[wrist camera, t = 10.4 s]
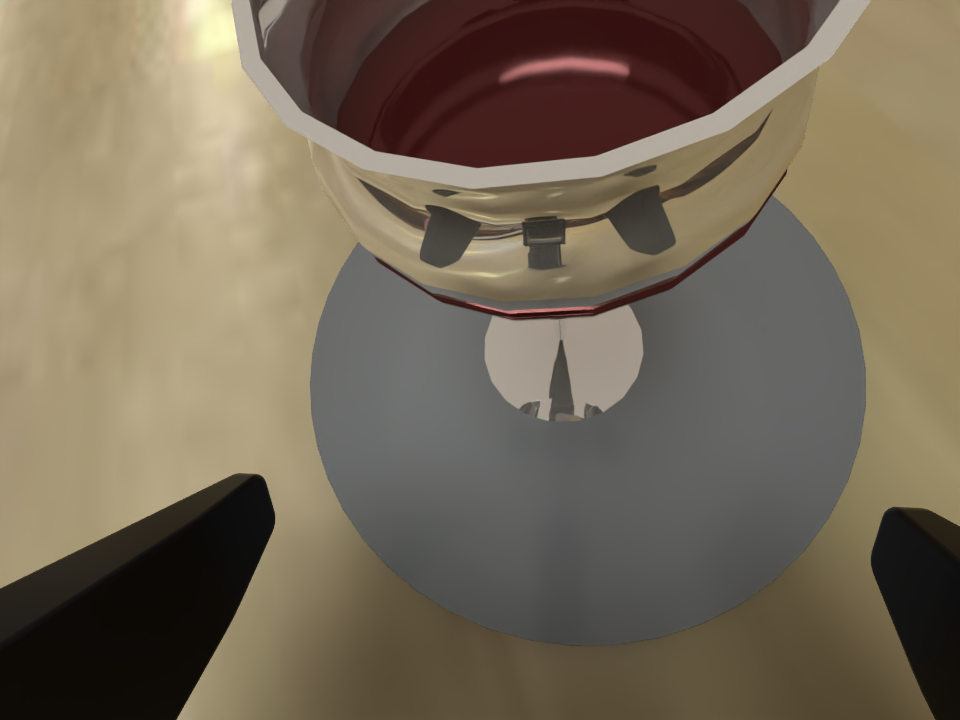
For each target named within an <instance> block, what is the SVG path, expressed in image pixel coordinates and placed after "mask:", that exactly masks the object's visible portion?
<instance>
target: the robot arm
mask: <svg viewBox="0 0 960 720" xmlns="http://www.w3.org/2000/svg"><path fill="white" fill-rule="evenodd" d="M274 525H275V512H274V508H273V505H272V501H271V498H270V495H269V491H268V488H267V484H266V481H265V479H264V478H263V477H262V476H261V475H258V474H246V473H238V474H234V475H232V476H230V477H228V478H225V479H223V480H221V481H219V482H217V483H215V484H213V485H211V486H209V487H207V488H205V489H203V490H201V491H199V492H197V493H195V494H193V495H191V496H189V497H187V498H185V499H183V500H180V501H178V502H176V503H174V504H172V505H170V506H168V507H166V508H164V509H162V510H160V511H158V512H156V513H154V514H152V515H150V516H148V517H146V518H144V519H142V520H140V521H138V522H135V523H133V524H131V525H129V526H127V527H125V528H123V529H121V530H119V531H117V532H115V533H113V534H111V535H109V536H107V537H105V538H103V539H101V540H99V541H97V542H95V543H93V544H90V545H88V546H86V547H84V548H82V549H80V550H78V551H76V552H74V553H72V554H70V555H68V556H66V557H64V558H62V559H60V560H58V561H56V562H54V563H52V564H50V565H48V566H45V567H43V568H41V569H39V570H37V571H35V572H33V573H31V574H29V575H27V576H25V577H23V578H21V579H19V580H17V581H15V582H13V583H11V584H9V585H7V586H5V587H3V588H0V720H177V718H178V716H179V714H180V713H181V711H182V709H183V707H184V705H185V704H186V702H187V700H188V698H189V697H190V695H191V693H192V691H193V689H194V688H195V686H196V684H197V682H198V681H199V679H200V677H201V675H202V674H203V672H204V670H205V668H206V666H207V665H208V663H209V661H210V659H211V658H212V656H213V654H214V652H215V650H216V649H217V647H218V645H219V643H220V642H221V640H222V638H223V636H224V634H225V633H226V631H227V629H228V627H229V625H230V623H231V621H232V620H233V618H234V616H235V613H236V611H237V609H238V607H239V605H240V603H241V601H242V599H243V596H244V594H245V592H246V590H247V588H248V585H249V583H250V581H251V579H252V576H253V574H254V572H255V570H256V567H257V565H258V563H259V561H260V558H261V556H262V554H263V552H264V549H265V547H266V545H267V543H268V541H269V538H270V536H271V534H272V532H273V529H274ZM871 566H872V571H873V574H874V576H875V579H876V581H877V584H878V586H879V589H880V591H881V594H882V596H883V599H884V601H885V604H886V606H887V609H888V611H889V614H890V616H891V619H892V621H893V624H894V626H895V629H896V631H897V634H898V636H899V639H900V641H901V644H902V646H903V649H904V651H905V654H906V656H907V658H908V661H909V663H910V666H911V668H912V671H913V673H914V675H915V678H916V680H917V682H918V685H919V687H920V689H921V691H922V694H923V696H924V698H925V700H926V702H927V704H928V706H929V708H930V710H931V712H932V714H933V716H934V717H935V719H936V720H960V526H958V525H956V524H954V523H952V522H950V521H949V520H947V519H945V518H943V517H941V516H939V515H938V514H936V513H934V512H932V511H930V510H927V509H923V508H906V507H892V508H889V509H888V510H887V511H886V512H885V513H884V515H883V518H882V521H881V524H880V527H879V530H878V534H877V537H876V540H875V543H874V546H873V550H872V554H871Z"/></svg>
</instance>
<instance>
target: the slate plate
mask: <svg viewBox="0 0 960 720" xmlns="http://www.w3.org/2000/svg"><path fill="white" fill-rule="evenodd" d="M628 306H629V307H630V308H631V309H632V311H633V313H634V315H635V317H636V320H637V322H638V324H639V326H640V328H641V332H642V343H643V353H644V354H643V357H642V361H641V365H640V369H639V372H638V376H637V378H636V380H635V381H634V382H633V384H632V385H631V387H630V388H629V390H628V391H627V393H626V394H625V396H624V397H623V398H622V399H620V400H619V401H618V402H616V403H615V404H614V405H612V406H611V407H610V408H608V409H607V410H606V411H604V412H603V413H601V414H598V415H595V416H592V417H589V418H586V419H583V420H580V421H567V422H550V421H547V420H543V419H540V418H537V417H533V416H530V415H526V414H525V413H524V412H522V411H521V410H519V409H518V408H516V407H515V406H513V405H512V404H510V403H509V402H507V401H506V400H505V399H504V397H503V396H502V395H501V393H500V392H499V391H498V389H497V388H496V387H495V385H494V384H493V383H492V381H491V378H490V375H489V372H488V369H487V366H486V363H485V336H486V333H487V330H488V328H489V325H490V322H491V319H492V316H489V315H485V314H481V313H476V312H472V311H468V310H464V309H460V308H457V307H453V306H450V305H446V304H443V303H441V302H439V301H438V300H436V299H435V298H433V297H431V296H430V295H428V294H427V293H425V292H424V291H422V290H420V289H419V288H417V287H416V286H414V285H413V284H411V283H409V282H408V281H406V280H405V279H403V278H402V277H400V276H398V275H397V274H395V273H394V272H392V271H391V270H389V269H388V268H386V267H384V266H383V265H381V264H380V263H378V262H377V260H376V259H375V257H374V256H373V255H372V254H371V253H370V252H369V251H368V250H367V249H365V248H364V247H363V246H362V245H361V244H360V242H358V243H357V245H356V246H355V248H354V249H353V251H352V253H351V254H350V256H349V257H348V259H347V260H346V262H345V263H344V265H343V267H342V268H341V270H340V272H339V274H338V276H337V278H336V280H335V283H334V285H333V287H332V289H331V291H330V293H329V295H328V298H327V301H326V304H325V307H324V309H323V312H322V315H321V318H320V321H319V324H318V329H317V334H316V339H315V344H314V348H313V353H312V366H311V378H310V392H311V412H312V420H313V425H314V430H315V436H316V441H317V447H318V450H319V453H320V456H321V459H322V462H323V465H324V468H325V471H326V474H327V477H328V480H329V482H330V484H331V486H332V488H333V490H334V492H335V494H336V496H337V498H338V500H339V502H340V504H341V506H342V508H343V510H344V512H345V513H346V515H347V516H348V518H349V519H350V520H351V522H352V523H353V525H354V526H355V528H356V529H357V531H358V532H359V534H360V535H361V537H362V538H363V540H364V541H365V542H366V543H367V544H368V545H369V546H370V547H371V548H372V550H373V551H374V552H375V553H376V554H377V555H378V556H379V557H380V558H381V560H382V561H383V562H384V563H385V564H386V565H387V566H388V567H389V568H390V569H391V570H392V571H394V572H395V573H396V574H397V575H398V576H400V577H401V578H402V579H403V580H404V581H406V582H407V583H408V584H409V585H410V586H412V587H413V588H414V589H415V590H416V591H418V592H419V593H421V594H422V595H424V596H426V597H427V598H429V599H430V600H432V601H434V602H435V603H437V604H439V605H440V606H442V607H443V608H445V609H447V610H448V611H450V612H452V613H454V614H456V615H458V616H461V617H463V618H465V619H467V620H470V621H472V622H474V623H476V624H479V625H481V626H483V627H486V628H488V629H491V630H495V631H498V632H502V633H505V634H509V635H513V636H516V637H520V638H523V639H527V640H532V641H540V642H547V643H555V644H563V645H570V646H581V645H618V644H624V643H630V642H637V641H643V640H649V639H655V638H660V637H663V636H666V635H669V634H672V633H675V632H678V631H682V630H685V629H688V628H691V627H694V626H697V625H700V624H702V623H704V622H706V621H708V620H710V619H712V618H714V617H716V616H718V615H720V614H722V613H724V612H726V611H728V610H730V609H732V608H734V607H736V606H738V605H740V604H741V603H743V602H744V601H746V600H747V599H749V598H750V597H751V596H753V595H754V594H756V593H757V592H758V591H760V590H761V589H763V588H764V587H765V586H767V585H768V584H770V583H771V582H772V581H774V580H775V579H776V578H777V577H778V576H779V575H780V574H781V573H782V572H783V571H784V570H785V569H786V568H787V567H788V566H789V565H790V564H791V563H792V562H793V561H794V560H795V559H797V558H798V557H799V556H800V555H801V554H802V553H803V552H804V551H805V549H806V548H807V547H808V545H809V544H810V543H811V541H812V540H813V539H814V537H815V536H816V535H817V533H818V532H819V530H820V529H821V528H822V526H823V525H824V524H825V522H826V521H827V520H828V518H829V517H830V515H831V513H832V511H833V509H834V507H835V505H836V503H837V501H838V499H839V497H840V495H841V493H842V492H843V490H844V488H845V486H846V484H847V482H848V479H849V476H850V473H851V470H852V467H853V464H854V460H855V457H856V454H857V451H858V448H859V445H860V440H861V433H862V427H863V420H864V414H865V407H866V369H865V362H864V356H863V350H862V344H861V337H860V332H859V328H858V325H857V322H856V319H855V316H854V313H853V310H852V307H851V304H850V301H849V297H848V295H847V293H846V291H845V289H844V287H843V285H842V283H841V281H840V279H839V277H838V275H837V273H836V271H835V269H834V267H833V265H832V264H831V262H830V261H829V259H828V258H827V256H826V255H825V253H824V252H823V250H822V249H821V247H820V246H819V244H818V243H817V241H816V240H815V238H814V237H813V236H812V235H811V234H810V232H809V231H808V230H807V229H806V228H805V227H804V226H803V225H802V223H801V222H800V221H799V220H798V219H797V218H796V217H795V216H794V214H793V213H792V212H791V211H790V210H789V209H787V208H786V207H785V206H784V205H783V204H782V203H781V202H779V201H778V200H777V199H776V198H775V197H774V196H773V195H772V196H771V197H770V199H769V200H768V202H767V203H766V205H765V206H764V208H763V209H762V210H761V212H760V213H759V215H758V216H757V218H756V219H755V221H754V222H753V224H752V225H751V227H750V228H749V230H748V231H747V232H746V234H745V235H744V236H743V237H742V238H740V239H739V240H738V241H736V242H735V243H734V244H732V245H731V246H729V247H728V248H727V249H725V250H724V251H723V252H721V253H720V254H719V255H717V256H716V257H714V258H713V259H712V260H710V261H709V262H708V263H706V264H705V265H704V266H702V267H701V268H699V269H698V270H697V271H695V272H694V273H693V274H691V275H690V276H689V277H687V278H686V279H684V280H683V281H682V282H680V283H679V284H678V285H676V286H675V287H674V288H672V289H671V290H669V291H667V292H664V293H661V294H658V295H655V296H653V297H650V298H648V299H645V300H642V301H639V302H636V303H633V304H630V305H628Z"/></svg>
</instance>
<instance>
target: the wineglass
mask: <svg viewBox="0 0 960 720" xmlns="http://www.w3.org/2000/svg"><path fill="white" fill-rule="evenodd" d="M870 1H871V0H232V4H231V5H232V11H233V16H234V22H235V28H236V34H237V40H238V46H239V52H240V58H241V64H242V68H243V70H244V71H245V72H246V74H247V75H248V76H249V78H250V79H251V80H252V82H253V83H254V84H255V86H256V87H257V88H258V90H259V91H260V92H261V94H262V95H263V97H264V98H265V99H266V101H267V102H268V103H269V105H270V106H271V107H272V109H273V110H274V111H275V113H276V114H277V115H278V117H279V118H280V119H281V121H282V122H283V123H284V125H285V126H287V127H288V128H290V129H292V130H294V131H295V132H297V133H299V134H301V135H303V136H304V137H306V138H307V139H308V143H309V148H310V152H311V157H312V161H313V164H314V167H315V169H316V172H317V175H318V178H319V181H320V183H321V186H322V189H323V192H324V194H325V196H326V197H327V198H328V200H329V201H330V203H331V204H332V205H333V207H334V208H335V209H336V211H337V212H338V214H339V215H340V216H341V218H342V219H343V220H344V222H345V223H346V225H347V226H348V227H349V229H350V230H351V231H352V233H353V234H354V236H355V237H356V238H357V240H358V241H359V242H360V244H361V245H362V246H363V247H364V248H365V249H367V250H368V251H369V252H370V253H371V254H372V255H373V256H374V257H375V259H376V260H377V262H378V263H380V264H381V265H383V266H384V267H386V268H388V269H389V270H391V271H392V272H394V273H395V274H397V275H398V276H400V277H402V278H403V279H405V280H406V281H408V282H409V283H411V284H413V285H414V286H416V287H417V288H419V289H420V290H422V291H424V292H425V293H427V294H428V295H430V296H431V297H433V298H435V299H436V300H438V301H439V302H441V303H443V304H446V305H450V306H453V307H457V308H460V309H464V310H468V311H472V312H476V313H481V314H485V315H489V316H492V319H491V322H490V325H489V328H488V330H487V333H486V336H485V363H486V366H487V369H488V372H489V375H490V378H491V381H492V383H493V384H494V385H495V387H496V388H497V389H498V391H499V392H500V393H501V395H502V396H503V397H504V399H505V400H506V401H507V402H509V403H510V404H512V405H513V406H515V407H516V408H518V409H519V410H521V411H522V412H524V413H525V414H526V415H530V416H533V417H537V418H540V419H543V420H547V421H550V422H567V421H580V420H583V419H586V418H589V417H592V416H595V415H598V414H601V413H603V412H604V411H606V410H607V409H608V408H610V407H611V406H612V405H614V404H615V403H616V402H618V401H619V400H620V399H622V398H623V397H624V396H625V394H626V393H627V391H628V390H629V388H630V387H631V385H632V384H633V382H634V381H635V380H636V378H637V376H638V372H639V369H640V365H641V361H642V357H643V354H644V353H643V343H642V332H641V328H640V326H639V324H638V322H637V320H636V317H635V315H634V313H633V311H632V309H631V308H630V307H629V306H628V305H630V304H633V303H636V302H639V301H642V300H645V299H648V298H650V297H653V296H655V295H658V294H661V293H664V292H667V291H669V290H671V289H672V288H674V287H675V286H676V285H678V284H679V283H680V282H682V281H683V280H684V279H686V278H687V277H689V276H690V275H691V274H693V273H694V272H695V271H697V270H698V269H699V268H701V267H702V266H704V265H705V264H706V263H708V262H709V261H710V260H712V259H713V258H714V257H716V256H717V255H719V254H720V253H721V252H723V251H724V250H725V249H727V248H728V247H729V246H731V245H732V244H734V243H735V242H736V241H738V240H739V239H740V238H742V237H743V236H744V235H745V234H746V232H747V231H748V230H749V228H750V227H751V225H752V224H753V222H754V221H755V219H756V218H757V216H758V215H759V213H760V212H761V210H762V209H763V208H764V206H765V205H766V203H767V202H768V200H769V199H770V197H771V196H772V194H773V193H774V191H775V190H776V188H777V187H778V186H779V184H780V183H781V181H782V180H783V178H784V177H785V175H786V173H787V168H788V167H789V165H790V164H791V162H792V161H793V159H794V158H795V156H796V155H797V153H798V152H799V150H800V149H801V147H802V144H803V140H804V136H805V132H806V127H807V123H808V119H809V115H810V110H811V106H812V101H813V96H814V91H815V86H816V81H817V76H818V70H819V66H820V65H821V64H823V63H824V62H825V61H827V60H828V59H830V58H831V57H832V55H833V54H834V52H835V51H836V50H837V48H838V47H839V45H840V44H841V42H842V41H843V40H844V38H845V37H846V35H847V34H848V32H849V31H850V30H851V28H852V27H853V25H854V24H855V22H856V21H857V20H858V18H859V17H860V15H861V14H862V12H863V11H864V10H865V8H866V7H867V5H868V4H869V2H870Z"/></svg>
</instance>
